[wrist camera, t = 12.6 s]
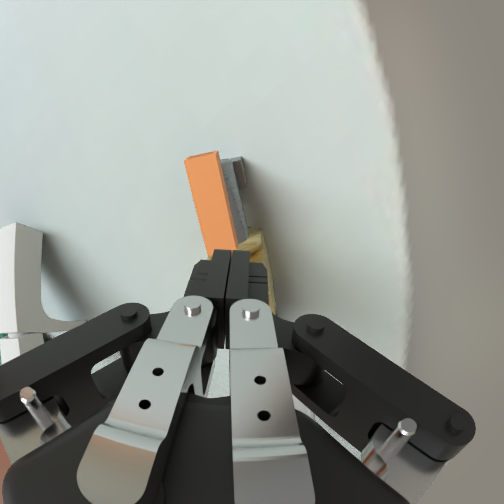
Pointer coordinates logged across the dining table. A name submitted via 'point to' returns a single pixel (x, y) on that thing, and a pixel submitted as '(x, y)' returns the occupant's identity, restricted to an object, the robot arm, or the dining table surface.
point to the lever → (211, 201)
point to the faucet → (23, 293)
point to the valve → (246, 236)
